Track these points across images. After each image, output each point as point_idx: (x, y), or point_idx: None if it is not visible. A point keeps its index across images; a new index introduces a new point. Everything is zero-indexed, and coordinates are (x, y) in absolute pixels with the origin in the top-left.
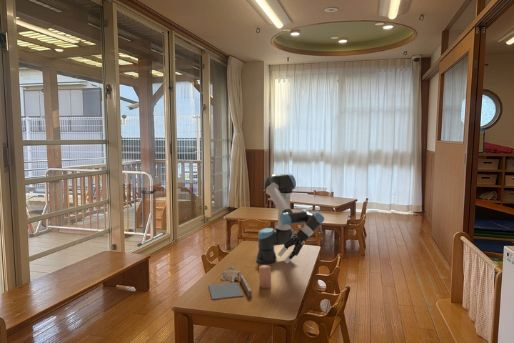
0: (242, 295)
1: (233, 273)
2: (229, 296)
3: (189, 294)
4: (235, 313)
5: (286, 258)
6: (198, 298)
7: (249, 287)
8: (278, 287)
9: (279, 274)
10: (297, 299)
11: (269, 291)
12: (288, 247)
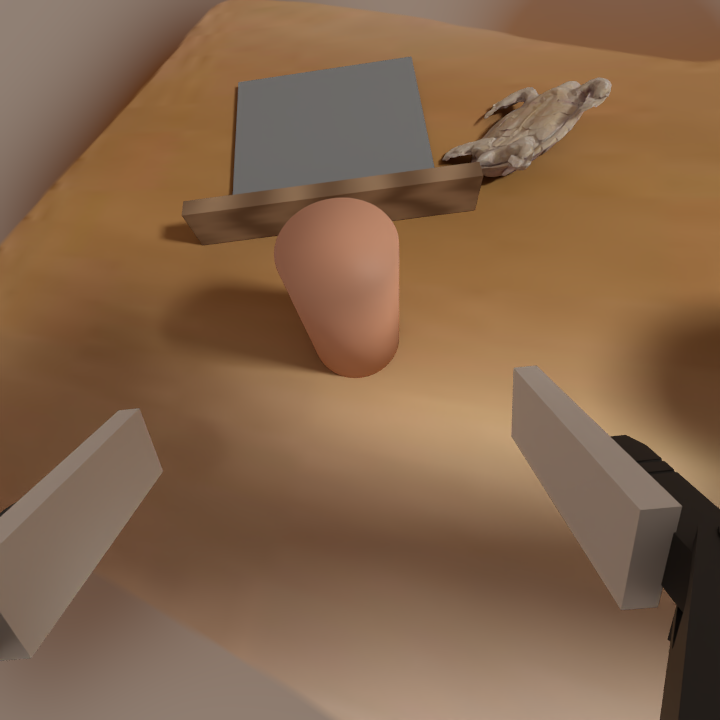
0: None
1: (527, 129)
2: (240, 143)
3: (328, 13)
4: (66, 173)
5: (83, 444)
6: (274, 44)
7: (238, 207)
8: (309, 429)
9: None
10: None
11: (257, 353)
12: (666, 672)
